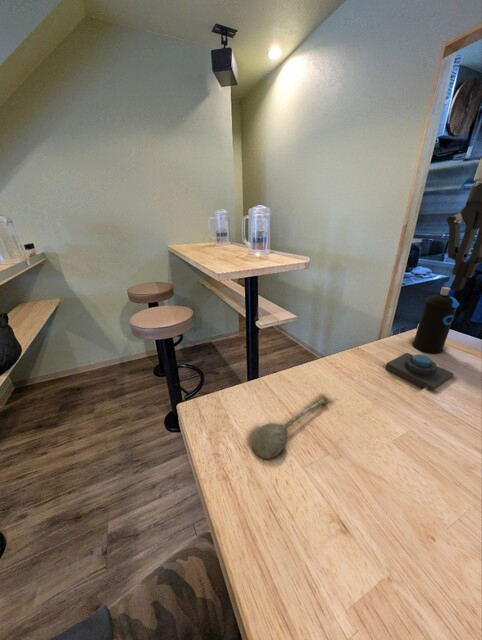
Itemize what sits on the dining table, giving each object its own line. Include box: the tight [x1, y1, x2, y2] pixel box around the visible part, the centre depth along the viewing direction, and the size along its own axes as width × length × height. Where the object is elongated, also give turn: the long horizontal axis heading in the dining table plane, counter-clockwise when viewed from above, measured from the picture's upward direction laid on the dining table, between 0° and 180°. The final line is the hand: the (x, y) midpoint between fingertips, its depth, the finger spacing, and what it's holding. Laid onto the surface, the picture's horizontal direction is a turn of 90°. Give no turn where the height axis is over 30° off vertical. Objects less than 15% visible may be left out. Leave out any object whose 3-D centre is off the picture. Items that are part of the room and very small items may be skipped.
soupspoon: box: [251, 396, 330, 460], centre depth 54 cm, size 22×3×7 cm
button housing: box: [384, 352, 455, 392], centre depth 68 cm, size 12×10×4 cm
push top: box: [412, 353, 432, 368], centre depth 67 cm, size 4×4×2 cm
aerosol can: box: [411, 286, 460, 355], centre depth 77 cm, size 8×8×20 cm
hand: (457, 288), depth 63 cm, fingers closed
